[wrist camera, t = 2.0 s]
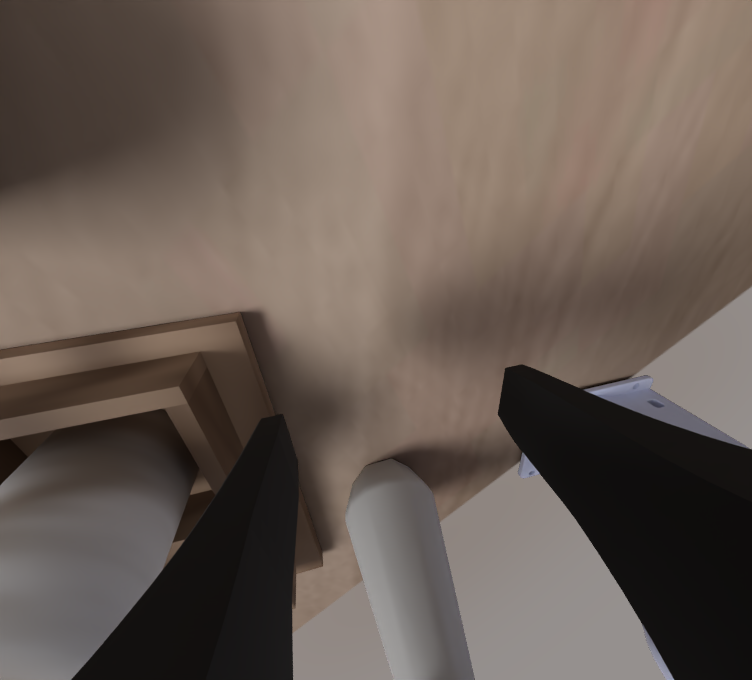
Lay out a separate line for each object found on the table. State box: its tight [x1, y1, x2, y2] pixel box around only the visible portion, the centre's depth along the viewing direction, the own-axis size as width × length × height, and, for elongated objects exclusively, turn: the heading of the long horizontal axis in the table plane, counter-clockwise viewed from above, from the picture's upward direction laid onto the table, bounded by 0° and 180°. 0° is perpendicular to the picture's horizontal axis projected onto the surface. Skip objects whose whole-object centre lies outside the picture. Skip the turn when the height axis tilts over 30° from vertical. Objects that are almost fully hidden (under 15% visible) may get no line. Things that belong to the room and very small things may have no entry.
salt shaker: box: [346, 459, 475, 680], centre depth 15 cm, size 6×6×13 cm
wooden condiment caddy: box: [0, 312, 323, 680], centre depth 13 cm, size 13×21×9 cm, turn 5°
